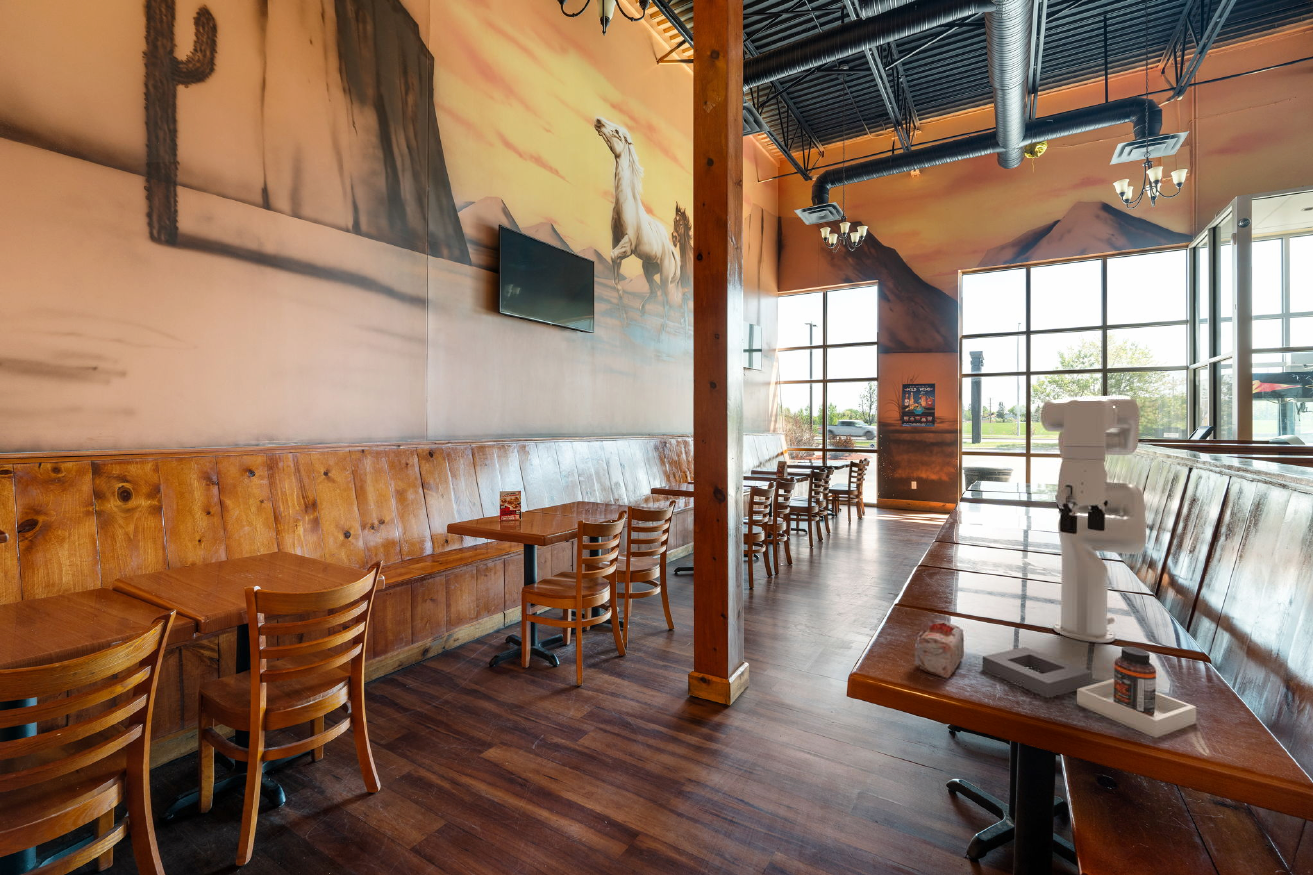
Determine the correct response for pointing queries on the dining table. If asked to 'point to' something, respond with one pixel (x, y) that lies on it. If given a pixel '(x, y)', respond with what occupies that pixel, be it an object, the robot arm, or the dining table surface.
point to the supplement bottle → (1135, 680)
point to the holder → (1049, 684)
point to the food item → (940, 649)
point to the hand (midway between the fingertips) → (1082, 531)
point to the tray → (1163, 721)
